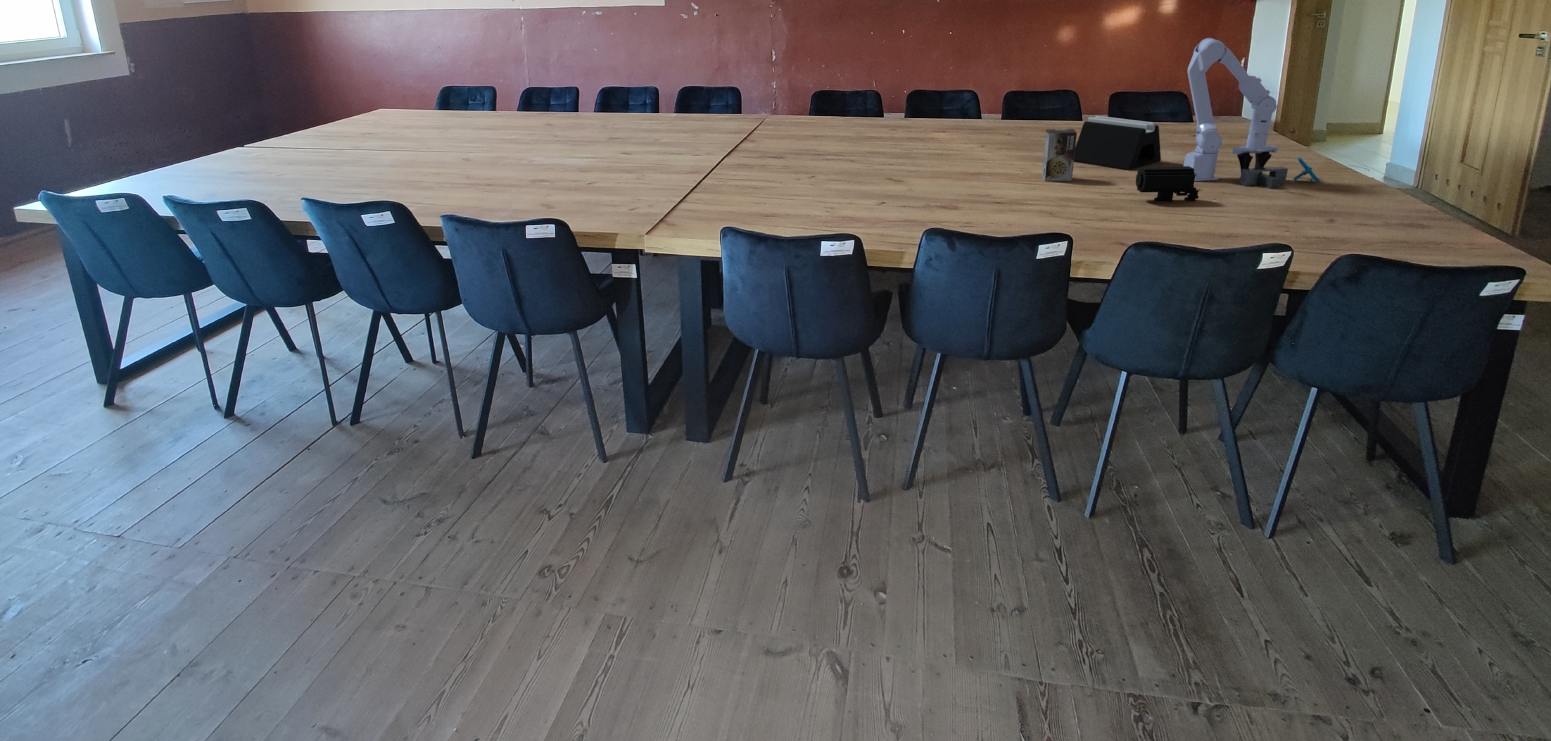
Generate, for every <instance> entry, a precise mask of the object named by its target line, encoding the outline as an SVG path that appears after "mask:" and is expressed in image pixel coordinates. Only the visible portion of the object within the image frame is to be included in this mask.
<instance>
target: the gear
mask: <svg viewBox="0 0 1551 741" xmlns="http://www.w3.org/2000/svg"><path fill="white" fill-rule="evenodd" d="M1297 160H1298V162H1299V163H1300V165H1301V167H1302V168H1303V170H1301V172H1300V173H1298V174H1297V175H1296V176H1294V177H1293V178H1292V179H1293V180H1294V182H1296V181H1298V180H1299V179H1300V178H1302V177H1303V176H1306V175H1308V174H1309V177H1310V178H1311V179H1313V180H1314V182H1315V183H1319V182H1320V180H1319V178H1318V177H1317V175H1316V174H1315V173H1314V172H1313V168H1312V166H1309V165H1307V163H1306V161H1304V160H1303V159H1302V158H1301V157H1300V156H1299V157H1297Z"/></svg>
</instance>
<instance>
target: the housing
mask: <svg viewBox="0 0 1551 741" xmlns="http://www.w3.org/2000/svg"><path fill="white" fill-rule="evenodd" d="M1288 171H1289V168H1287V167H1284V166H1272V167H1271V166H1268V167H1265V166H1264V167H1263V168H1255V167H1254V168H1245V169H1242V172H1241V171H1240V176H1239V177H1240V178H1239V183H1238V185H1241V186H1243V187H1252V186H1253V187H1254V186H1255V187H1256V186H1257V185H1258V184H1257V179H1258V174H1259V172H1266V173H1267V172H1269V173H1268V175H1270V176H1273V177H1276V178H1279V179H1280V181H1279V185H1285V184H1286V180H1287V176H1288Z"/></svg>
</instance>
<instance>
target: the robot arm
mask: <svg viewBox="0 0 1551 741" xmlns="http://www.w3.org/2000/svg"><path fill="white" fill-rule="evenodd" d="M1216 62H1218V63H1220V64H1223V65H1224V66H1225V67H1226V68H1227V70H1228V71H1229V72H1230V73H1231V74H1232V75H1233V77H1235V79H1236V80H1237V81H1238V82H1239V83H1238V90H1239V91H1240V92H1241V94H1242V95H1243V96H1244V98H1246V100H1247V101H1248V103H1250V104H1251V109H1252V110H1253V112H1252V115H1251V116H1252V117H1251V120H1250V125H1249V129H1248V135H1247V141H1246V145H1243V146H1238V147H1233V148H1232V153H1231V154H1233V155H1236V157H1237V158H1238V159H1237V160H1238V162H1239V167H1240V173H1241V172H1242V169H1245V168H1249V167H1250V165H1251V162H1252V160H1253V158H1254V157H1255V158H1254V159H1255V161H1254V164H1255V165H1254V168H1265V165H1266V164H1267V163H1268V161H1269V160H1270V159H1271V158H1272V153H1273V154H1274V153H1275V154H1277V153H1278V149H1279V146H1276V145H1267V142H1268V138H1269V133H1270V128H1271V124H1272V117H1273V113H1274V112H1275V111H1276V110H1277V108H1278V105H1277V101H1276V98H1274V97H1273V96H1270V93H1271V92H1270V90H1269V89H1266V88H1265V86H1264V85H1263V84H1262V82H1263V81H1262V79H1261V78H1260V77H1256V75H1250V74H1249V73H1248V72H1247V71H1246V70H1245V68H1244V67H1243V65H1242V64H1241V63H1240V61H1239V59H1238V58H1237V57H1236V56H1235V54H1234V53H1233V52H1232V50H1230V48H1228V47H1227V46H1225V43H1223V42H1222V41H1221V40H1217V39H1215V38H1213V37H1207V38H1204V39H1202V40H1201V41H1199V43H1198V44H1197V45H1196V46H1195V48H1194V50H1193V54H1192V57H1191V59H1190V62H1189V65H1188V67H1187V76H1188V83H1189V88H1190V93H1191V97H1192V103H1193V108H1194V109H1193V110H1194V115H1195V119H1196V120H1195V121H1196V128H1195V130H1196V133H1195V134H1196V135H1195V138H1194V141H1195V144H1196V146H1195V148H1194V151H1190V152H1187V154H1185V157H1184V161H1183V166H1190V167H1191V168H1193V169H1194V172H1195V174H1194V175H1195V181H1194V182H1199V181H1200V182H1202V181H1203V182H1204V181H1220V178H1219V177H1218V176H1217V177H1216V176H1215V173H1216V167H1217V163H1218V162H1217V161H1218V155H1219V149H1220V148H1221V146H1222V144H1223V138H1222V136H1221V135H1220V134H1219V133H1218V129H1217V126H1216V124H1215V121H1214V116H1213V110H1212V105H1211V99H1210V98H1211V97H1210V94H1209V88H1208V82H1207V76H1206V73H1207V71H1208V70H1209V69H1210V68H1211V67H1212V65H1213V64H1215V63H1216ZM1251 154H1254V155H1255V156H1252V155H1251Z"/></svg>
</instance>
